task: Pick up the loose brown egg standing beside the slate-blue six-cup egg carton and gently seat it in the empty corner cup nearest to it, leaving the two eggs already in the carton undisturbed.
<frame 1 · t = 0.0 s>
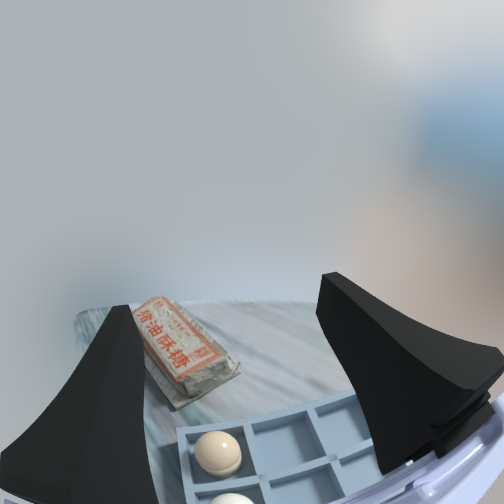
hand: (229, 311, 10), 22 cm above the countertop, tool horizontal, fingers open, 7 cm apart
seated egg b: (221, 461, 21), point 1 cm above the countertop, touching egg carton
packaged product: (176, 352, 37), on the countertop
egg carton: (295, 476, 20), on the countertop
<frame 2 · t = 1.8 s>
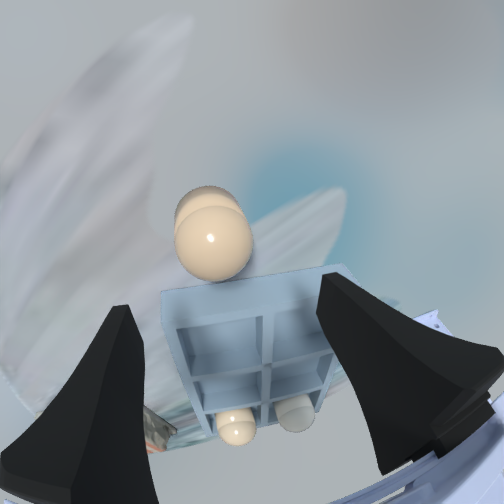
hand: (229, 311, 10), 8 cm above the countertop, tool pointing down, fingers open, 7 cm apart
loose egg: (207, 217, 17), on the countertop
seated egg a: (288, 393, 29), point 1 cm above the countertop, touching egg carton
seated egg b: (231, 405, 27), point 1 cm above the countertop, touching egg carton
packaged product: (101, 419, 28), on the countertop
egg carton: (257, 360, 25), on the countertop
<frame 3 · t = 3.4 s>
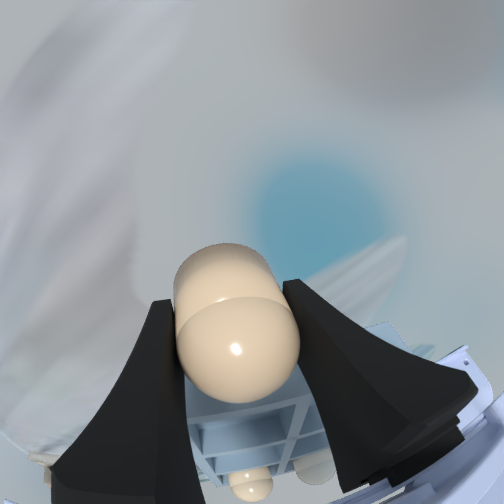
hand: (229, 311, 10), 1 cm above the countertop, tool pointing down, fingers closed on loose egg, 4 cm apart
loose egg: (223, 286, 11), on the countertop, touching gripper
seated egg a: (306, 443, 23), point 1 cm above the countertop, touching egg carton
seated egg b: (244, 458, 22), point 1 cm above the countertop, touching egg carton
packaged product: (103, 465, 23), on the countertop
egg carton: (277, 420, 20), on the countertop
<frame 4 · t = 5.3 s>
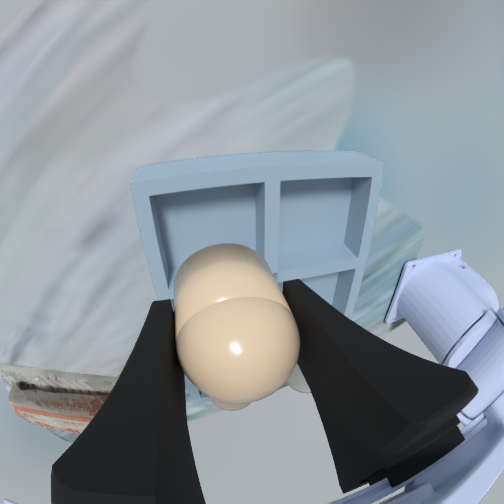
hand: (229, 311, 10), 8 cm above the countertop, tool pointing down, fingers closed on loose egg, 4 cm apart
loose egg: (223, 286, 11), point 7 cm above the countertop, touching gripper
seated egg a: (296, 344, 24), point 1 cm above the countertop, touching egg carton
seated egg b: (225, 358, 23), point 1 cm above the countertop, touching egg carton
packaged product: (77, 391, 25), on the countertop
egg carton: (258, 288, 21), on the countertop
when the fingers open (4 cm above the countertop, at t = 7.1 s): loose egg drops 1 cm, resting on egg carton.
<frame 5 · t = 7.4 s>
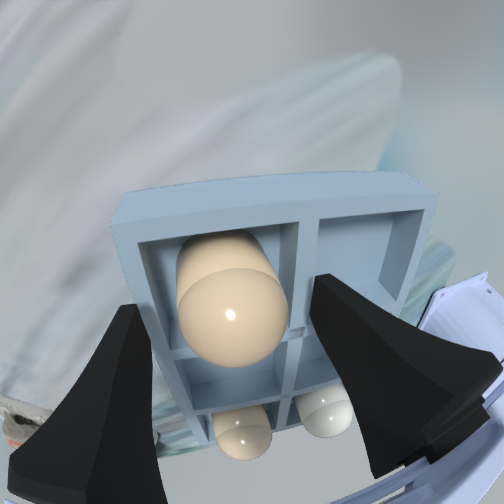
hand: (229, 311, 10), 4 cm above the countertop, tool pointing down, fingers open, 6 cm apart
loose egg: (220, 266, 13), point 1 cm above the countertop, touching egg carton
seated egg a: (314, 383, 21), point 1 cm above the countertop, touching egg carton
seated egg b: (235, 402, 19), point 1 cm above the countertop, touching egg carton
packaged product: (74, 427, 21), on the countertop
egg carton: (276, 332, 17), on the countertop
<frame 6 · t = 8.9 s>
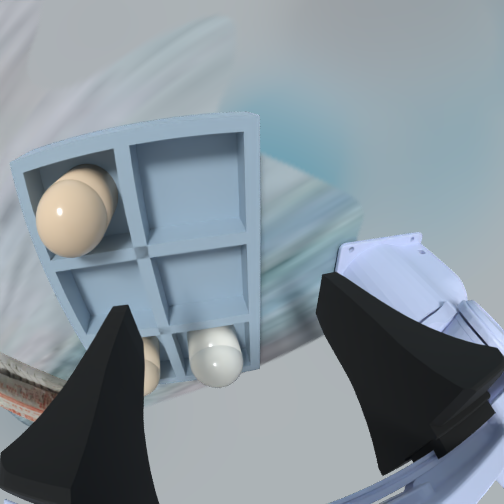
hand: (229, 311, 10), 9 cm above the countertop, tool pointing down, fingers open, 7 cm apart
loose egg: (87, 196, 14), point 1 cm above the countertop, touching egg carton
seated egg a: (211, 333, 23), point 1 cm above the countertop, touching egg carton
seated egg b: (136, 343, 21), point 1 cm above the countertop, touching egg carton
packaged product: (25, 378, 23), on the countertop
egg carton: (155, 268, 19), on the countertop
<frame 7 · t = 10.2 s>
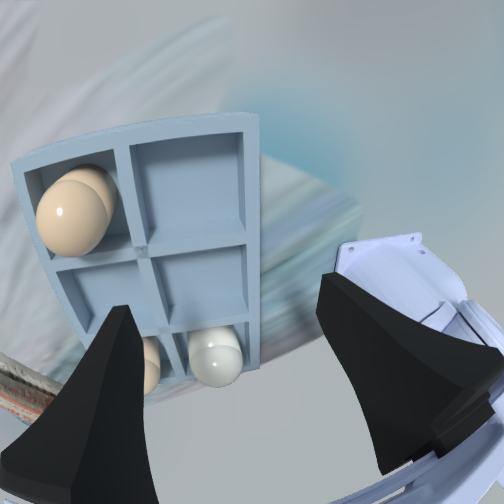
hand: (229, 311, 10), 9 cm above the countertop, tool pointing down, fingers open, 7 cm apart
loose egg: (87, 196, 14), point 1 cm above the countertop, touching egg carton
seated egg a: (210, 333, 23), point 1 cm above the countertop, touching egg carton
seated egg b: (136, 342, 21), point 1 cm above the countertop, touching egg carton
packaged product: (25, 380, 24), on the countertop
egg carton: (155, 268, 19), on the countertop
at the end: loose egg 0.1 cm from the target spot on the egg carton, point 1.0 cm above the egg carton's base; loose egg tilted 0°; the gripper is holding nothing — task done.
